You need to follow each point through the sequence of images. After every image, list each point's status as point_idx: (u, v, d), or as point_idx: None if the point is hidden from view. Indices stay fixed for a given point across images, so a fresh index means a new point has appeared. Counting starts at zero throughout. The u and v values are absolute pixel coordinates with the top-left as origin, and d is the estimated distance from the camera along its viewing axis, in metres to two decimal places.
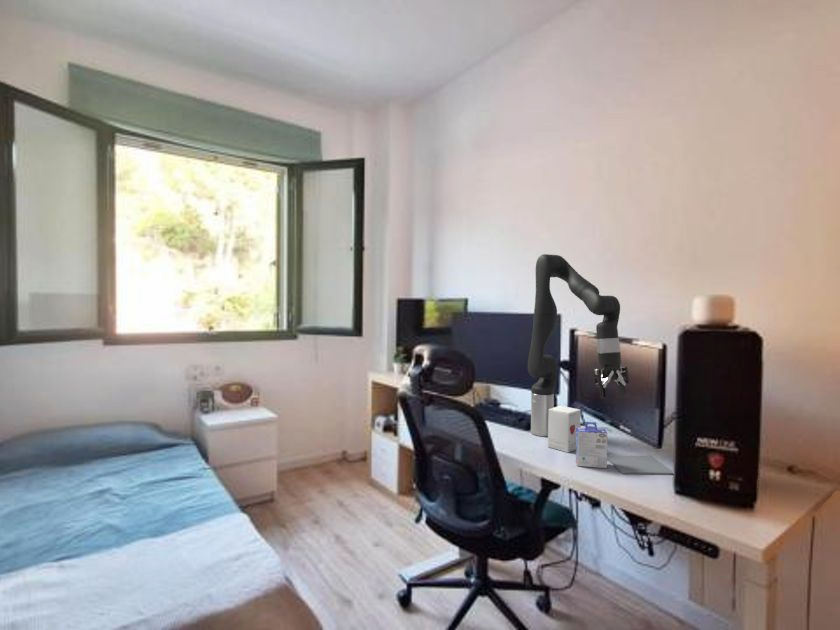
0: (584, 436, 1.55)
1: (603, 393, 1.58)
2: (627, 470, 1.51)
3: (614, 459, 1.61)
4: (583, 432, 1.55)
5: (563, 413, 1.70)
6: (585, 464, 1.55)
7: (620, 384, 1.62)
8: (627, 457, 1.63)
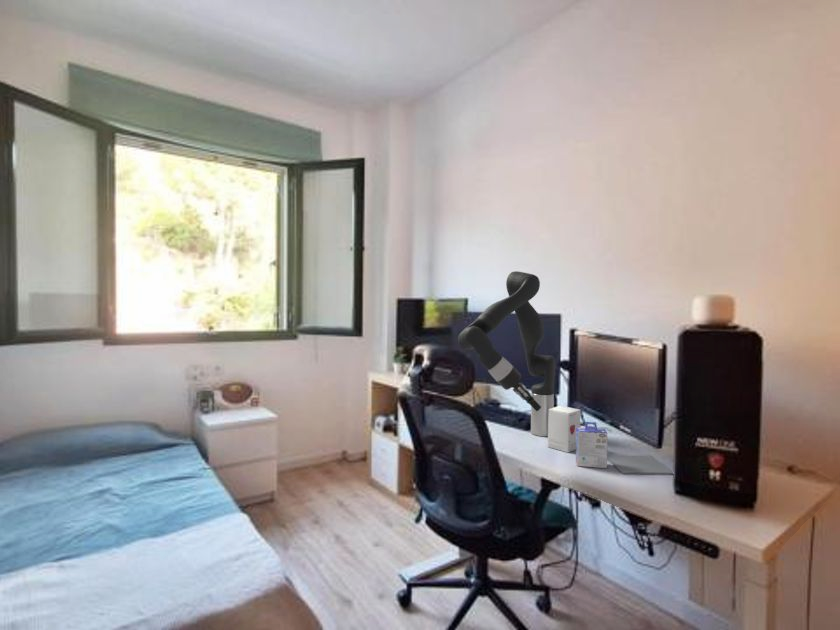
0: (584, 436, 1.55)
1: None
2: (627, 470, 1.51)
3: (614, 459, 1.61)
4: (583, 432, 1.55)
5: (563, 413, 1.70)
6: (585, 464, 1.55)
7: None
8: (627, 457, 1.63)
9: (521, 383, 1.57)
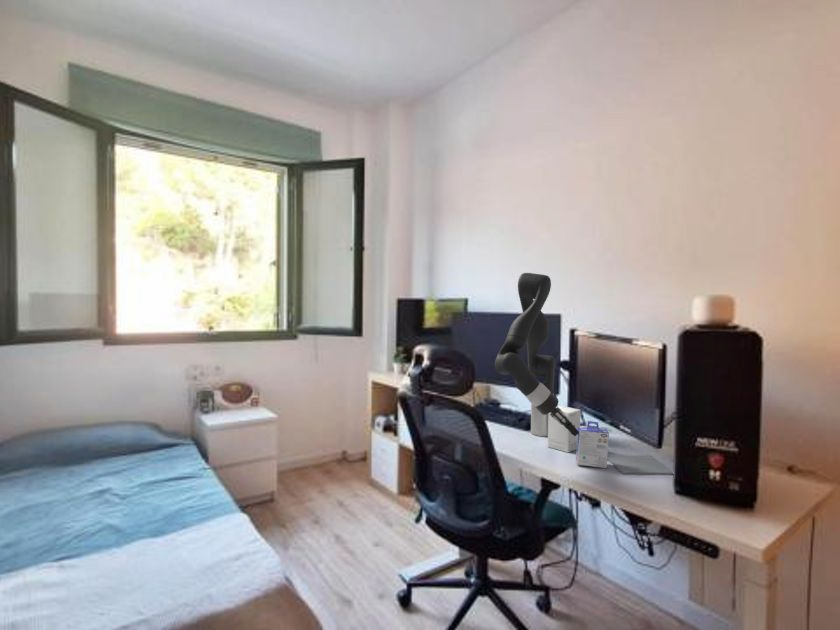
0: (585, 436, 1.55)
1: None
2: (627, 470, 1.51)
3: (614, 459, 1.61)
4: (585, 431, 1.55)
5: None
6: (585, 463, 1.55)
7: None
8: (627, 457, 1.63)
9: (558, 408, 1.57)
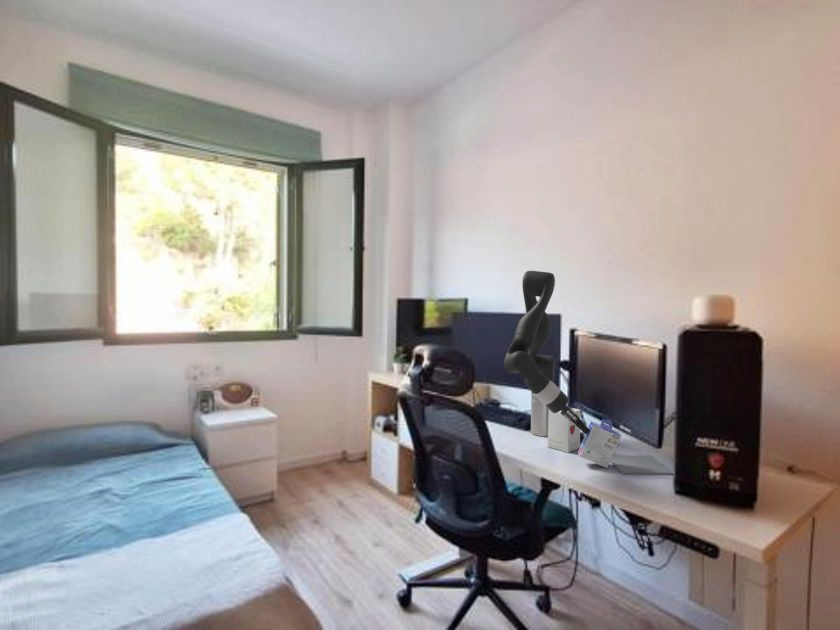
0: (597, 432, 1.54)
1: None
2: (627, 470, 1.51)
3: (614, 459, 1.61)
4: (599, 427, 1.54)
5: None
6: (588, 458, 1.54)
7: None
8: (627, 457, 1.63)
9: (569, 406, 1.57)
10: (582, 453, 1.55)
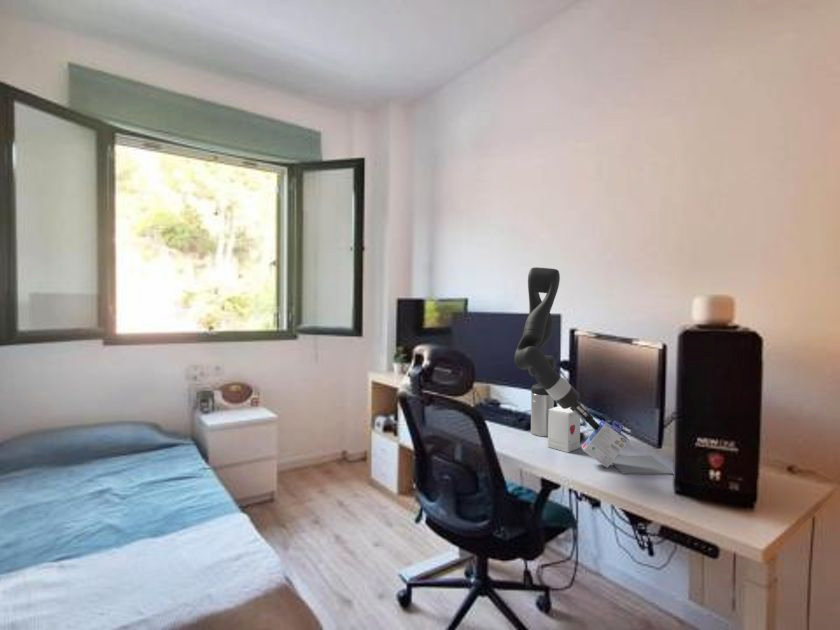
0: (607, 431, 1.53)
1: None
2: (627, 470, 1.51)
3: (614, 459, 1.61)
4: (609, 427, 1.53)
5: (563, 413, 1.70)
6: (591, 454, 1.54)
7: None
8: (627, 457, 1.63)
9: (579, 402, 1.57)
10: (586, 448, 1.54)
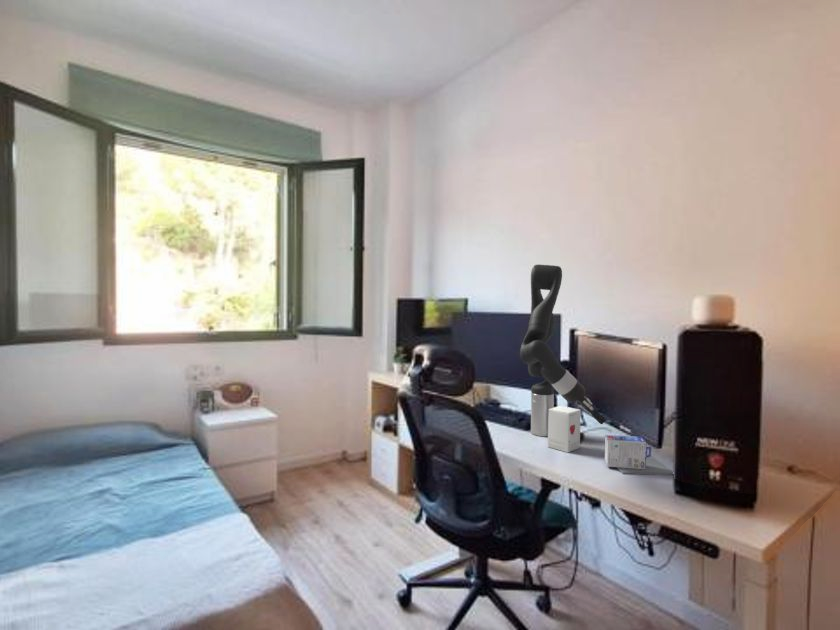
0: (640, 448, 1.50)
1: None
2: (627, 470, 1.51)
3: None
4: (645, 447, 1.50)
5: (563, 413, 1.70)
6: (609, 447, 1.53)
7: None
8: None
9: None
10: (612, 441, 1.52)
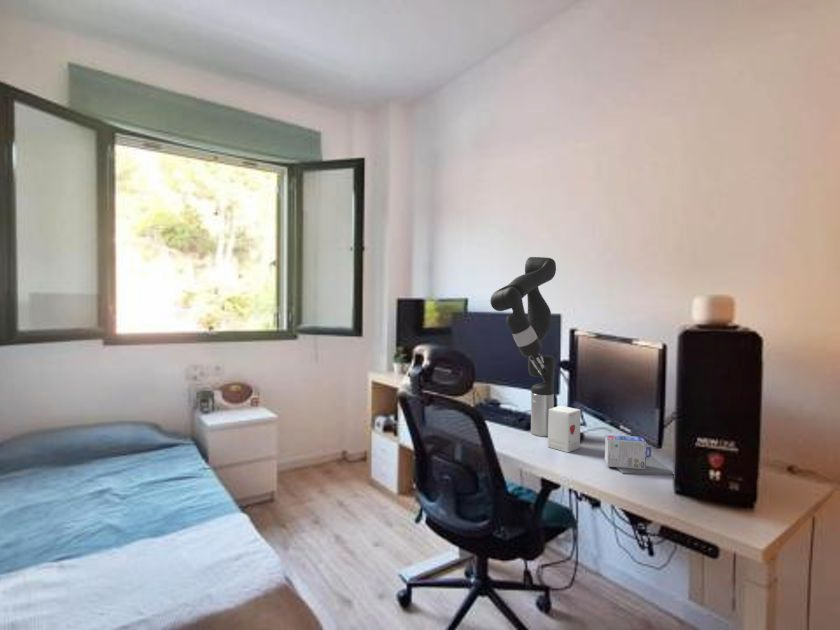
0: (640, 447, 1.51)
1: None
2: (627, 470, 1.51)
3: None
4: (645, 447, 1.50)
5: (563, 413, 1.70)
6: (609, 447, 1.53)
7: None
8: None
9: (539, 354, 1.61)
10: (612, 440, 1.52)
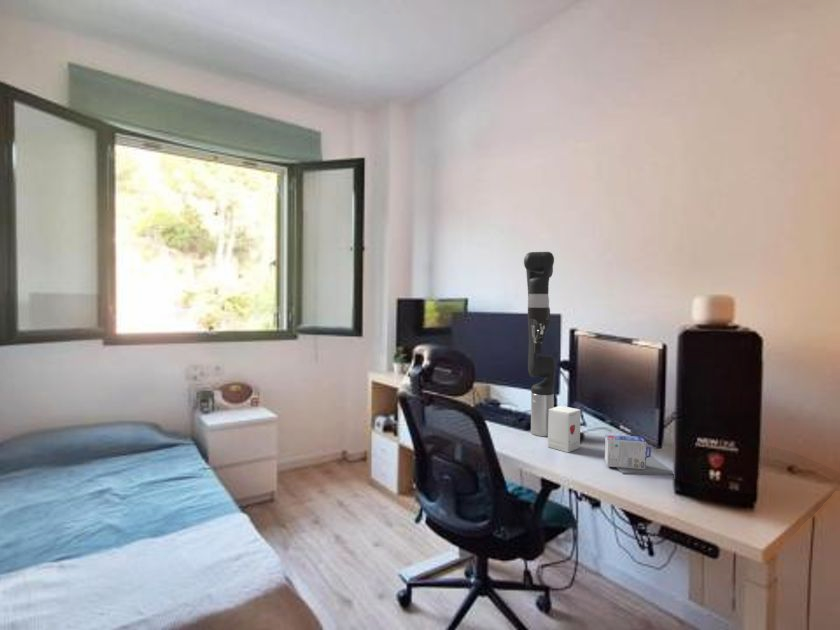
0: (640, 447, 1.51)
1: None
2: (627, 470, 1.51)
3: None
4: (645, 447, 1.50)
5: (563, 413, 1.70)
6: (609, 447, 1.53)
7: None
8: None
9: None
10: (612, 440, 1.52)
